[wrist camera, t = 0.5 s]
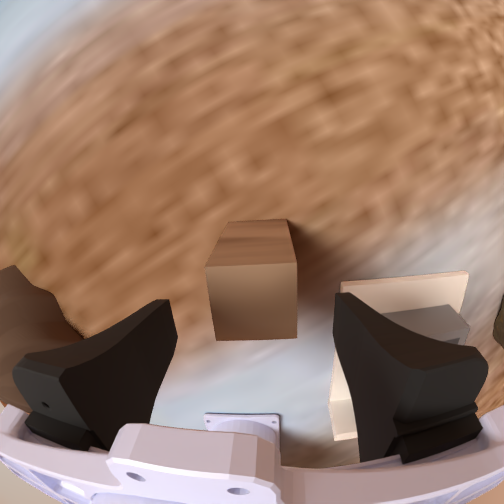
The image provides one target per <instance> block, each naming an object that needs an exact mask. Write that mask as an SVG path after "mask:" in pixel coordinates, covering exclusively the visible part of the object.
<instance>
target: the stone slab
mask: <svg viewBox="0 0 504 504" xmlns="http://www.w3.org/2000/svg"><path fill="white" fill-rule="evenodd" d="M493 336H494V338H495V340H496V341H497V342H498V343H499V344H500V345H501V346H502V347H503V348H504V297H503V302H502V308H501V311H500V312H499V316H498V317H497V318H496V321H495V324H494V332H493Z"/></svg>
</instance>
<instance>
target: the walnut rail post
mask: <svg viewBox="0 0 504 504" xmlns="http://www.w3.org/2000/svg"><path fill="white" fill-rule="evenodd" d="M205 274H206V281H207V287H208V294H209V300H210V307H211V313H212V319H213V325H214V331H215V337H216V341H235V340H272V339H293V338H297V261H296V257H295V253H294V248H293V244H292V240H291V236H290V232H289V228H288V224H287V220H286V219H272V220H254V221H237V222H228V223H227V225H226V227H225V229H224V231H223V233H222V235H221V236H220V238H219V240H218V242H217V244H216V246H215V248H214V250H213V252H212V254H211V255H210V257H209V259H208V261H207V263H206V265H205Z"/></svg>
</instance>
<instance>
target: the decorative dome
mask: <svg viewBox="0 0 504 504" xmlns="http://www.w3.org/2000/svg"><path fill="white" fill-rule="evenodd" d="M81 340H84V339H83V338H82V337H81V336H80V335H79V334H78V333H77V332H76V331H75V330H74V329H73V328H72V327H71V326H70V325H69V324H68V323H67V322H66V320H65V318H64V316H63V314H62V311H61V309H60V307H59V305H58V303H57V300H56V298H55V297H54V295H53V294H52V293H50V292H48V291H45V290H43V289H41V288H38V287H36V286H34V285H32V284H31V283H30V282H29V281H28V280H27V278H26V277H25V276H24V275H23V274H22V273H21V272H20V270H19V269H18V268H17V267H16V266H15V265H13V266H10V267H7V268H5V269H2V270H0V400H1V401H3V402H4V403H6V404H11V405H13V406H15V407H17V408H19V409H21V410H23V411H25V412H27V413H31V412H32V411H33V410H32V409H31V408H30V406H29V405H28V403H27V402H26V400H25V399H24V397H23V396H22V394H21V393H20V391H19V390H18V388H17V386H16V385H15V383H14V380H13V377H12V370H13V367H14V366H15V365H16V364H17V363H18V362H19V361H20V360H21V359H22V358H23V356H24V355H25V354H27V353H33V352H40V351H46V350H51V349H56V348H60V347H63V346H67V345H70V344H73V343H76V342H79V341H81Z"/></svg>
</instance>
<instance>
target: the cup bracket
mask: <svg viewBox="0 0 504 504" xmlns="http://www.w3.org/2000/svg"><path fill="white" fill-rule="evenodd" d="M468 277H469V274H468V273H467V272H466V271H456V272H447V273H437V274H427V275H417V276H406V277H395V278H383V279H371V280H358V281H344V282H341V286H340V293H344V292H350V293H352V294H353V295H355V296H356V297H357V298H359V299H360V300H362V301H363V302H364V303H366V304H367V305H368V306H370V307H371V308H373V309H374V310H376V311H377V312H378V313H380V314H382V315H383V316H385V317H386V318H388V319H390V320H391V321H393V322H395V323H397V324H398V325H400V326H403V327H405V328H407V329H409V330H411V331H413V332H416V333H418V334H421V335H424V336H426V337H429V338H432V339H436V340H439V341H443V342H447V343H452V344H457V345H464V344H465V341H466V338H467V335H468V332H469V329H470V326H469V325H468V324H467V323H466V322H465V321H464V320H463V319H462V318H461V317H460V315H459V313H460V310H461V306H462V302H463V298H464V294H465V290H466V286H467V281H468ZM328 407H329V412H330V417H331V423H332V429H333V435H334V441H338V440H345V439H352V438H358V436H357V428H356V422H355V415H354V410H353V404H352V399H351V395H350V391H349V388H348V385H347V382H346V379H345V376H344V373H343V370H342V367H341V364H340V361H339V358H338V355H337V352H336V347H335V354H334V362H333V370H332V378H331V385H330V392H329V399H328Z"/></svg>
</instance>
